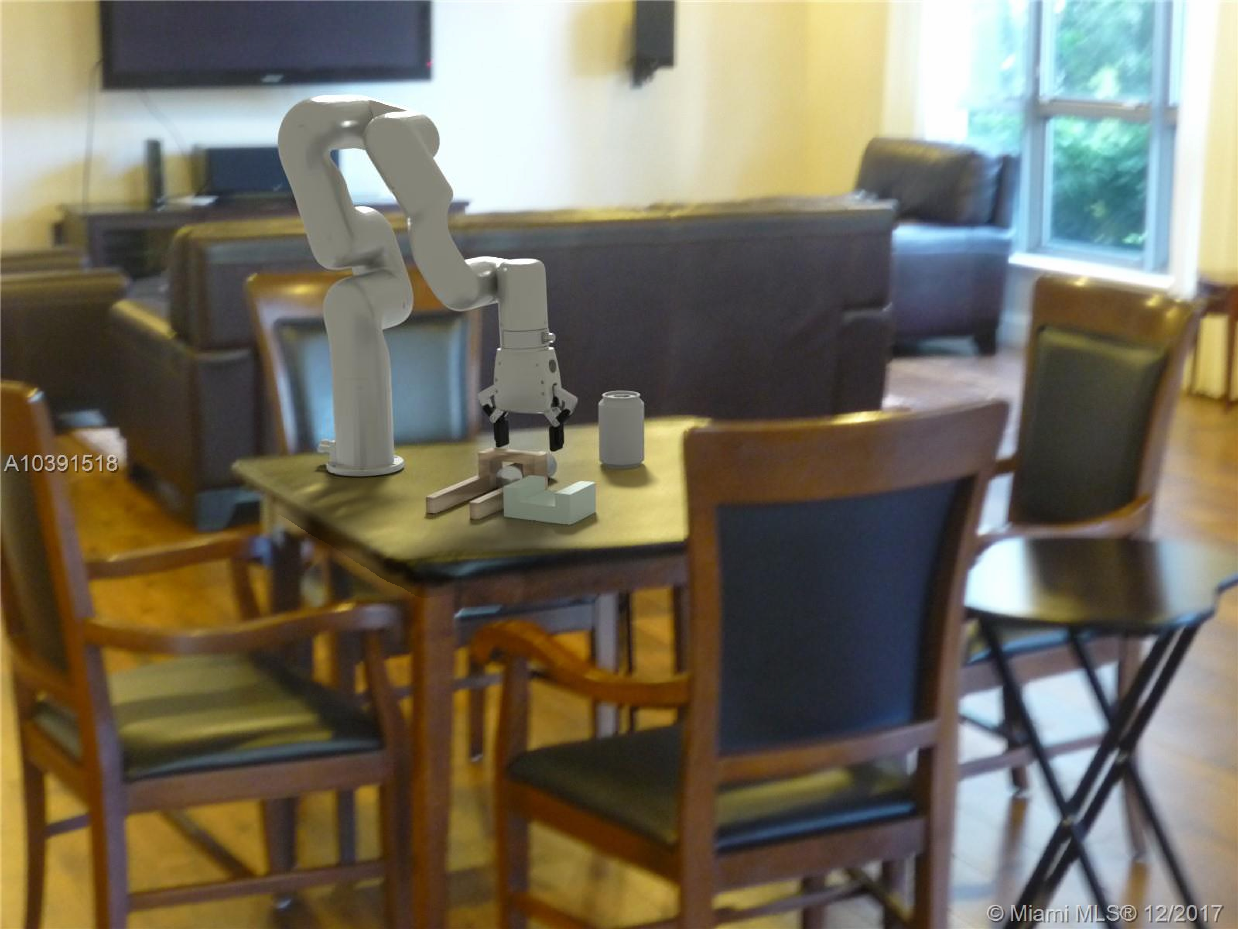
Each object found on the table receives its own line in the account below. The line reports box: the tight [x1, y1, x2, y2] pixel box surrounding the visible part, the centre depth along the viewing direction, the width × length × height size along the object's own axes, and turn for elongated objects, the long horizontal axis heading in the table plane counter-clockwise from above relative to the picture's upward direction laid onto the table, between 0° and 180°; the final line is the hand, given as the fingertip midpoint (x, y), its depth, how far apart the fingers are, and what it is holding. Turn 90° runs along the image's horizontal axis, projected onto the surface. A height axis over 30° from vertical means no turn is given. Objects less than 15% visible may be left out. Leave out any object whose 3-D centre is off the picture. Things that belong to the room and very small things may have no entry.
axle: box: [496, 450, 558, 490], centre depth 268 cm, size 12×4×4 cm, turn 155°
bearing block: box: [425, 447, 549, 520], centre depth 258 cm, size 10×20×6 cm, turn 154°
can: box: [598, 390, 645, 470], centre depth 280 cm, size 8×8×12 cm
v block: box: [503, 475, 597, 526], centre depth 251 cm, size 11×8×4 cm
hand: (529, 447), depth 268 cm, fingers open, 9 cm apart
